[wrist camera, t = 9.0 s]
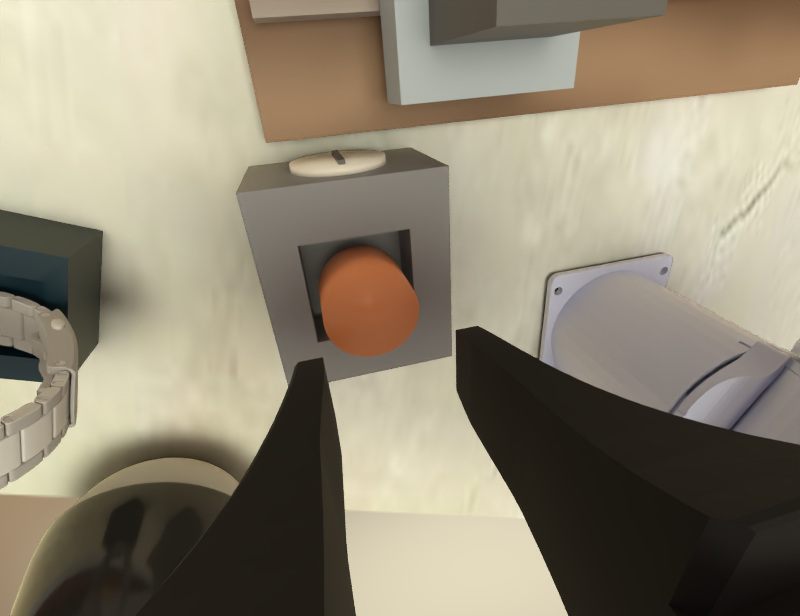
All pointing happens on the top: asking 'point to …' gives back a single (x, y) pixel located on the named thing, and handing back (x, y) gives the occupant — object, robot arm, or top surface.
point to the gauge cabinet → (343, 228)
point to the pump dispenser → (123, 539)
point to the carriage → (491, 44)
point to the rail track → (594, 86)
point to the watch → (44, 329)
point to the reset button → (366, 302)
